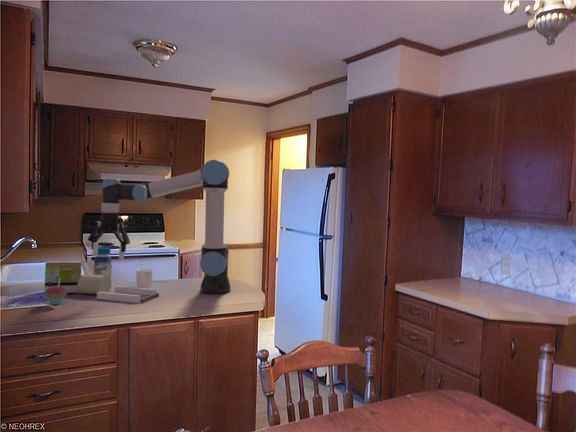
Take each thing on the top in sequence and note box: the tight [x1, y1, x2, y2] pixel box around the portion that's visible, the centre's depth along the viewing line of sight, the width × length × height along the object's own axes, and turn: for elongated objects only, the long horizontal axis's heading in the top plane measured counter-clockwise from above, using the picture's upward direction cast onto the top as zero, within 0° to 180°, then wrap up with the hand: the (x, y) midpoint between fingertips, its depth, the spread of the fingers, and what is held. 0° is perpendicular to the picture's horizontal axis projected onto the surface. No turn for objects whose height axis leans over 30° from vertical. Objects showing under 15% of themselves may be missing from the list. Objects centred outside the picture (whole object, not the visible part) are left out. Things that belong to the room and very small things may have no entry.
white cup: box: [135, 268, 154, 289], centre depth 212 cm, size 8×8×10 cm
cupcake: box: [44, 277, 68, 306], centre depth 181 cm, size 9×8×12 cm
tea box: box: [44, 259, 83, 294], centre depth 203 cm, size 15×10×15 cm, turn 114°
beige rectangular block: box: [77, 273, 112, 295], centre depth 200 cm, size 9×9×12 cm
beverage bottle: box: [93, 246, 113, 280], centre depth 215 cm, size 8×8×20 cm
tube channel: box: [96, 285, 157, 304], centre depth 197 cm, size 21×15×3 cm
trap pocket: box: [140, 292, 160, 304], centre depth 195 cm, size 6×14×2 cm, turn 168°
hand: (108, 257), depth 198 cm, fingers open, 13 cm apart
